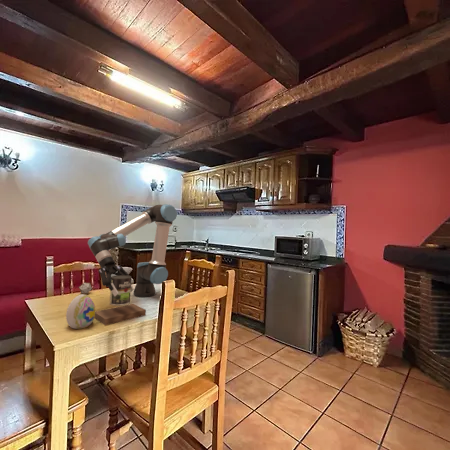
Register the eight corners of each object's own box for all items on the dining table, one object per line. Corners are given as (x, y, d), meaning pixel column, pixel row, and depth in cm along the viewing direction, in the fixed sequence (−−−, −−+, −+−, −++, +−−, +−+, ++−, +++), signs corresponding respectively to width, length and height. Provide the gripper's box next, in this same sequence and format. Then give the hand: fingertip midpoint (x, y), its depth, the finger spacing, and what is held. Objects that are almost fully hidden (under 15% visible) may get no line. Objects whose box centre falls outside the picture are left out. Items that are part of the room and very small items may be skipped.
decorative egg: (80, 332, 117) (82, 299, 117) (59, 328, 121) (60, 296, 121) (100, 323, 129) (101, 293, 129) (80, 319, 132) (81, 290, 133)
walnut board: (132, 308, 152) (133, 303, 152) (145, 315, 143) (145, 309, 143) (93, 317, 136) (94, 311, 136) (105, 325, 127) (105, 319, 127)
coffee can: (133, 303, 140) (135, 277, 140) (116, 307, 132) (117, 279, 132) (123, 299, 146) (124, 274, 147) (105, 302, 138) (107, 276, 138)
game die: (82, 298, 180) (79, 285, 184) (95, 293, 183) (92, 281, 187) (78, 295, 172) (75, 282, 176) (91, 290, 175) (88, 277, 179)
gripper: (118, 262, 156) (136, 292, 149) (83, 266, 136) (102, 301, 129) (124, 254, 154) (143, 284, 147) (90, 257, 133) (110, 292, 127)
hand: (124, 292), depth 138 cm, fingers closed on coffee can, 10 cm apart
